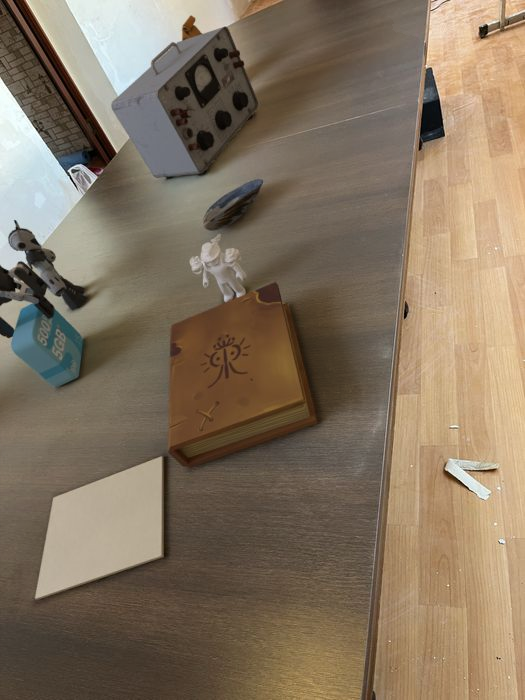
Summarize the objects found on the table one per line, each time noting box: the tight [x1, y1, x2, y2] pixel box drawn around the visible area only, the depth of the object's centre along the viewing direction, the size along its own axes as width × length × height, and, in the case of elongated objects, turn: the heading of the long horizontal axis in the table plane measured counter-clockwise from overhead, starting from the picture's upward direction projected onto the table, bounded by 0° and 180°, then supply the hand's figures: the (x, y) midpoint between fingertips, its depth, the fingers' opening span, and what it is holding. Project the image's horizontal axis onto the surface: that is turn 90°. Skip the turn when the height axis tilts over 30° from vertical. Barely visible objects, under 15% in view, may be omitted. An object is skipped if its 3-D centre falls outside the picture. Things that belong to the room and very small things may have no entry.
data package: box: [10, 303, 84, 388], centre depth 88 cm, size 12×4×12 cm, turn 11°
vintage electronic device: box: [111, 26, 259, 180], centre depth 124 cm, size 32×18×25 cm, turn 150°
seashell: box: [201, 178, 264, 232], centre depth 101 cm, size 15×12×5 cm
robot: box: [7, 219, 89, 311], centre depth 101 cm, size 20×5×20 cm, turn 28°
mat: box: [34, 455, 165, 601], centre depth 64 cm, size 18×14×1 cm
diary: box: [167, 281, 319, 468], centre depth 69 cm, size 23×19×6 cm
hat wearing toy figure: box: [189, 233, 247, 303], centre depth 82 cm, size 9×4×12 cm, turn 80°
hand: (32, 324), depth 85 cm, fingers open, 8 cm apart
